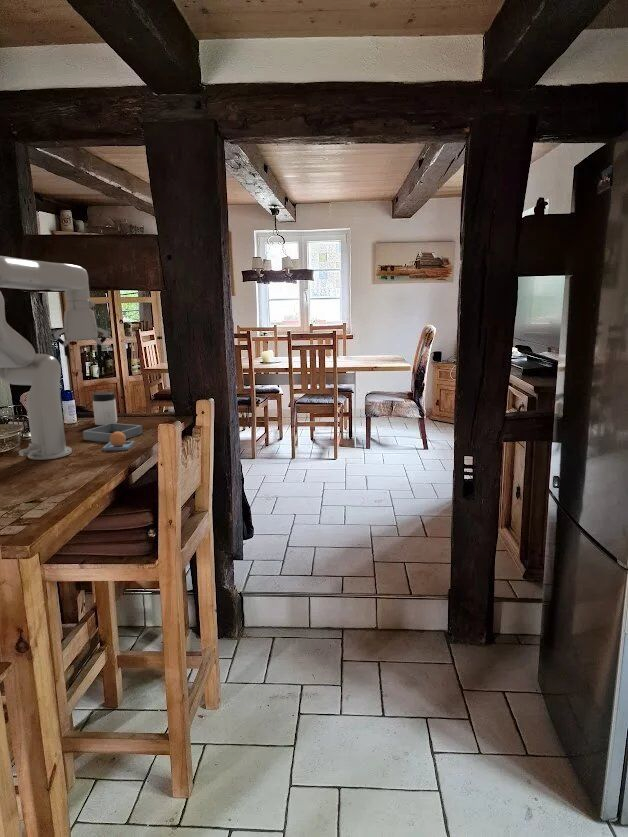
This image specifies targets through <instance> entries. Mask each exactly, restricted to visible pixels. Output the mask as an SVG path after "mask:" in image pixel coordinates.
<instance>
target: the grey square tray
mask: <svg viewBox="0 0 628 837" xmlns="http://www.w3.org/2000/svg"><path fill="white" fill-rule="evenodd" d="M117 431H119V432H122V433H123V434H124V435H125V437H126V440H128V439H129V440H130V439H131V438H135V437H137V436H140V435H143V433H144V430H143V425H141V424H129V423H118V422H117V423H109V424H106V425H98V426H97V427H96V426H95V427H93V428H89V429H85V430H83V431H82V436H83V440H85V441H92V442H102V443H103V442H104V443H109V442H110V436H111V434H112V433H114V432H117Z"/></svg>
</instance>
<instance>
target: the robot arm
mask: <svg viewBox="0 0 628 837" xmlns="http://www.w3.org/2000/svg"><path fill="white" fill-rule="evenodd" d="M0 288H4V289H5V288H7V289H19V290H35V291H36V290H37V291H40V290H41V291H43V290H50V291H55V292H58V291H59V292H63V291H64V294H65V303H66V305H65V306H66V310H64V316H63V317H64V318H63V322H64V327H63V328H61V329H60V330H59V329H58V330H57V331H56V332H54V333H53V336H54V338H55V339H56V341H57V342H58V343H59V344H60V345H61V346H63V349H64V357H66V358H67V359H70V358H71V355H70V347H69V343H70V342H71V341H72V342H73V341H93V340H94V341H95V342H96V352H97V357H98V358H99V357H101V355H103V350H102V349H103V348H102V345H103V344H104V342H105V341H106V340H107V338H108V335H109V334H110V332H109V331H108V330H105V329H103V328H101V327H98V324H97V320H96V316H95V315H96V314H95V311H94V309H92V308H94V307H96V302H93V301H91V296H90V295H91V294H90V286H89V274H88V272H87V270H86V269H85V268H83V267H82V266H80V265H76V264H70V263H60V262H50V261H43V260H32V259H24V258H18V257H11V256H4V255H0ZM98 332H99V333H102V334H103V335H102V337H101V339H99V338H98ZM62 334H64V335H65V340H63V339H62V338H61V337H60V335H62ZM61 374H62V368H61V364H60V362H59V360H58V359H57V358H56V357H54V356H53V355H50V354H46V353H36V350H35V348H34V346H33V345H32V343H30V342H29V340H28V339H26V338H25V337H24V336H22V335H21V334H20V333H19V332H17V331H16V330H15V329H13V327H12V326H10V325H9V323H7V320H6V310H5V298H4V296H3V294H2V291H0V379H1V380H2V381H3V382H4V383H7V384H10V385H15V386H17V385H18V386H31V387H30V389H29V391H28V394H27V396H26V409H27V416H28V424H29V425H28V426H29V431H30V440H31V442H30V443H28V447H26V448H23V449H19V451H18V455H19V456H20V457H24V456H27V458H28V459H30V460H36V461H37V460H38V461H45V460H54V459H60V458H63V457H66V456H69V455H70V454H72V453H73V451H72V450H73V449H72V448H71V447H70V446H67V445H66V444H67V443H66V435H65V428H64V427H65V426H64V418H63V411H62V401H61V400H62V399H61V388H60V387H61V377H62V376H61Z"/></svg>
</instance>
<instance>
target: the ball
mask: <svg viewBox="0 0 628 837" xmlns="http://www.w3.org/2000/svg"><path fill="white" fill-rule="evenodd" d="M111 433H112V434H111V436H110V442H111V444H112V445H113V446H116V447H120V446H122V445H124V443H125V442H126V441H127V439H126V437H125V435H124V434H123V433H122V432H119V431H117V432H114V431H113V432H111Z"/></svg>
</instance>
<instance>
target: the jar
mask: <svg viewBox="0 0 628 837" xmlns="http://www.w3.org/2000/svg"><path fill="white" fill-rule="evenodd" d="M91 396H92V407H93V416H94V418H93V419H94V425H95V426H102V425H106V424H109V423H118V413H117V403H116V394H115V392H114V391H109V390H108V391H97V392H93V393H92V394H91Z"/></svg>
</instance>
